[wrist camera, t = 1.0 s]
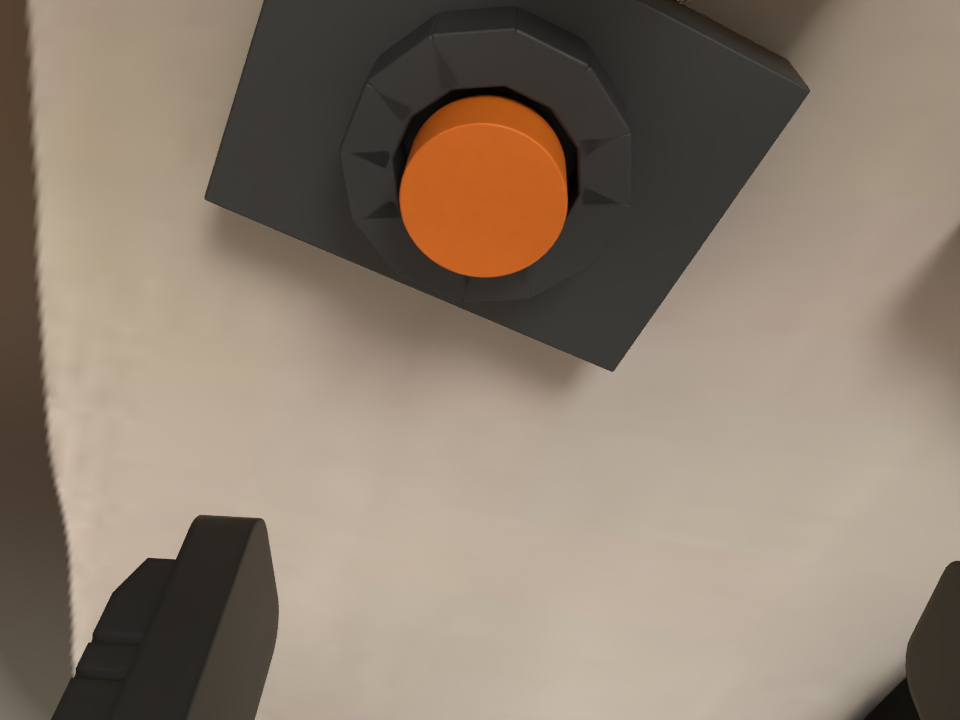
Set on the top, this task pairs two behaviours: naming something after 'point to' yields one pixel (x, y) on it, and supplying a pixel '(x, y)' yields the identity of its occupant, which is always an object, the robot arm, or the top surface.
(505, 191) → the button
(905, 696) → the game console
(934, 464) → the top surface
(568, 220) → the button block
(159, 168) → the top surface
